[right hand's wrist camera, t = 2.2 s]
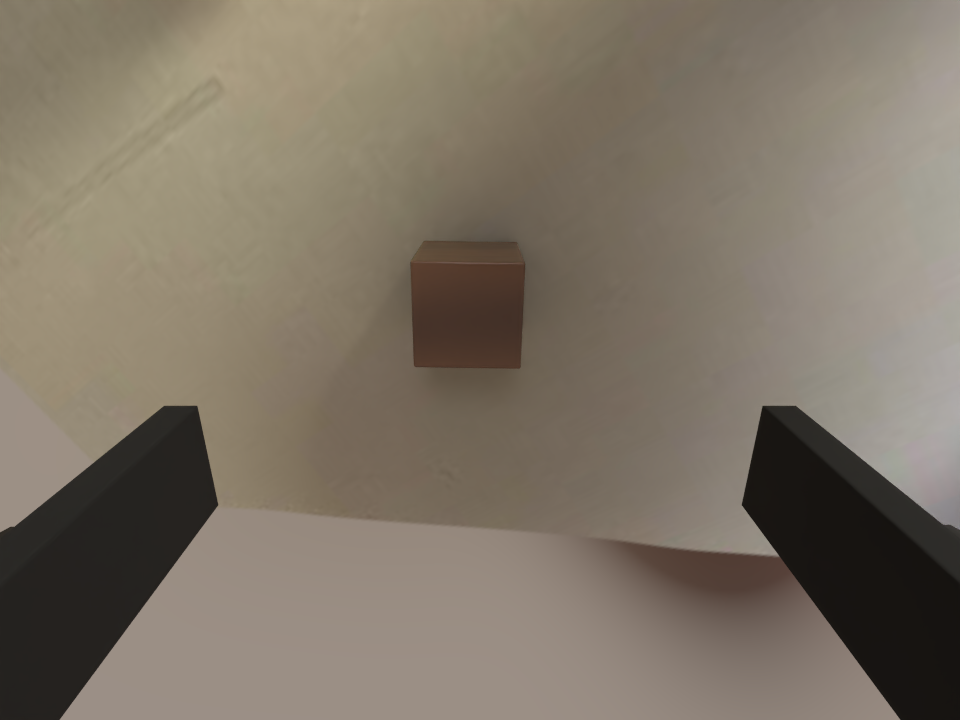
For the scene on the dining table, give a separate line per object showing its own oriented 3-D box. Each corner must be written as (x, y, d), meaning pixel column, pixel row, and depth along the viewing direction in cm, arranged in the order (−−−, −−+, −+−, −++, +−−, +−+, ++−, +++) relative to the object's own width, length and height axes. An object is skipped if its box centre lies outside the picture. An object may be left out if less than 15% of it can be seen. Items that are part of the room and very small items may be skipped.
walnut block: (423, 240, 26) (410, 260, 21) (517, 242, 26) (525, 262, 21) (425, 330, 27) (413, 367, 23) (514, 331, 27) (520, 369, 23)
